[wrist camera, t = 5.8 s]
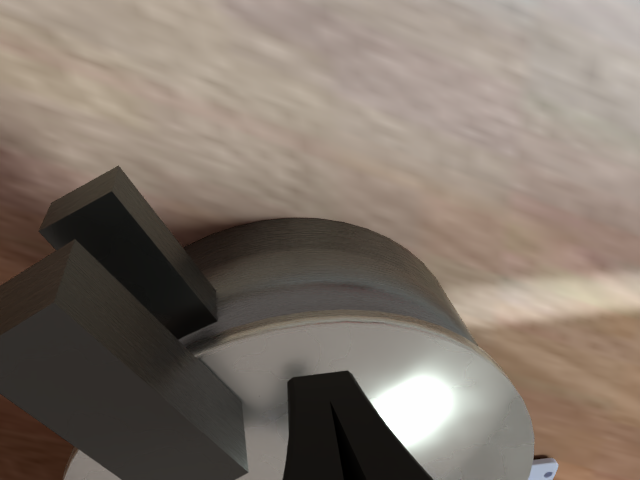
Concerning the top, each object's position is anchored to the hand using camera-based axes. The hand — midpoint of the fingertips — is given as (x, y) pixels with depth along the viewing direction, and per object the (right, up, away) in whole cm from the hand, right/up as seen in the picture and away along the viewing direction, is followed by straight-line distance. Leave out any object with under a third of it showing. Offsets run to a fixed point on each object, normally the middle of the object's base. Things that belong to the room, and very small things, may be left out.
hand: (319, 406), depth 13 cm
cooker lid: (-2, -4, +7) cm, 8 cm away
